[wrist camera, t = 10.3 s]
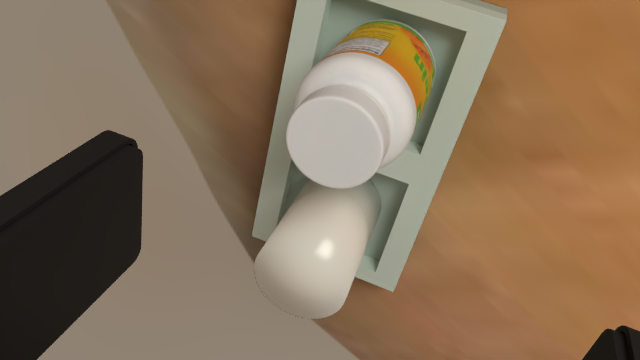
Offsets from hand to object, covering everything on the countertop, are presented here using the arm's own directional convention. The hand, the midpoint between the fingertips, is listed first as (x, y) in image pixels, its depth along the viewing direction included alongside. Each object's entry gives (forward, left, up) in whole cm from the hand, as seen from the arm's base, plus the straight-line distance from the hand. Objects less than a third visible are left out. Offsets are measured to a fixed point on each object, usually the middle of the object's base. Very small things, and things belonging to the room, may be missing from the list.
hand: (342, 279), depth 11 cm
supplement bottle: (+3, +3, -20) cm, 20 cm away
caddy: (+3, +8, -21) cm, 23 cm away
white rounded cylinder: (+3, +12, -20) cm, 23 cm away
